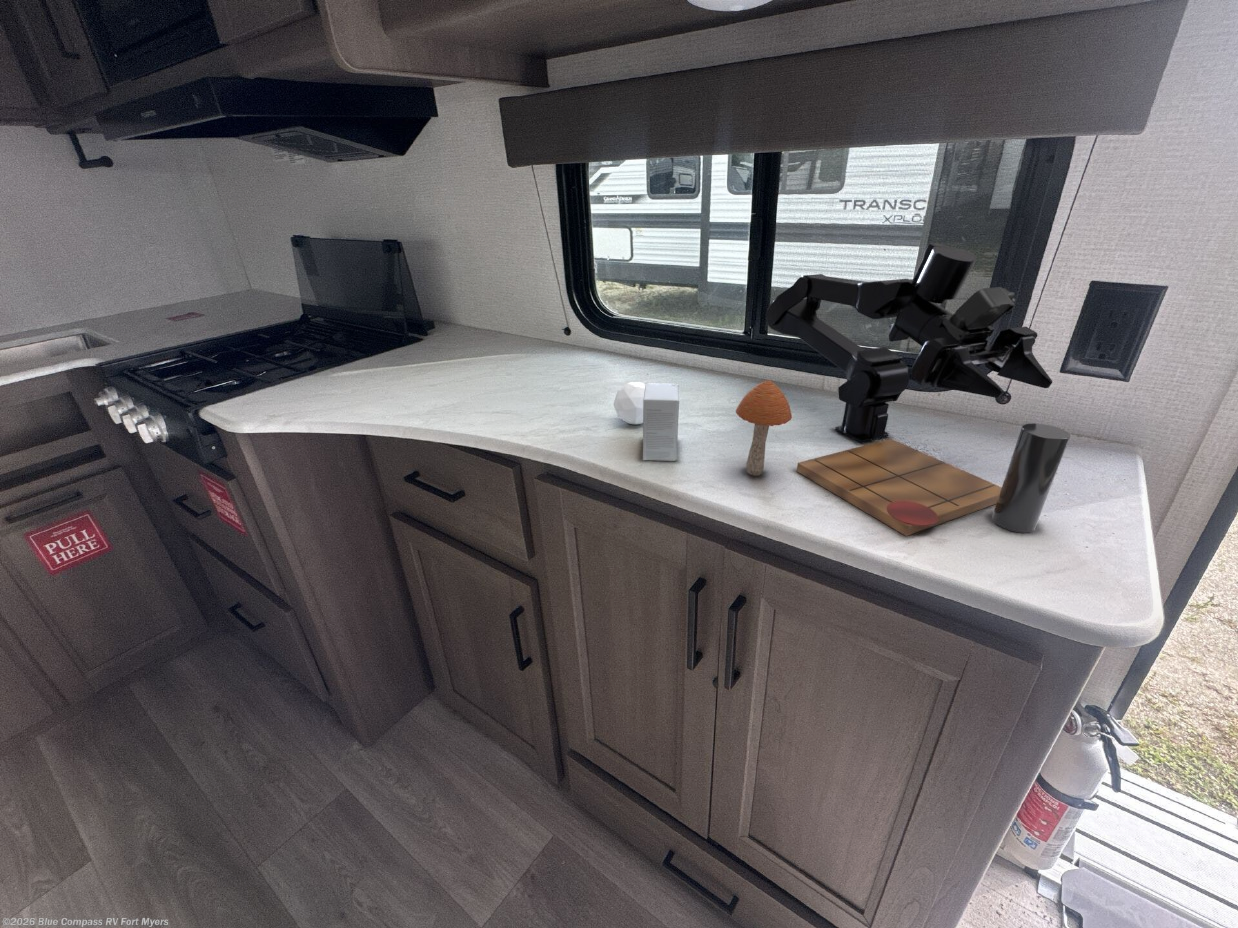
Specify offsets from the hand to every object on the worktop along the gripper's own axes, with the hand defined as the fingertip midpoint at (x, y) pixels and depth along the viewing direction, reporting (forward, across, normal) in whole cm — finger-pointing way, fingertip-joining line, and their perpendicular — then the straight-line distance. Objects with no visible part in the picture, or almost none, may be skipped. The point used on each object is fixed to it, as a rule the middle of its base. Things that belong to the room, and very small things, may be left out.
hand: (1025, 389), depth 72 cm
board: (-3, -9, +18) cm, 20 cm away
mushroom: (-14, -26, +21) cm, 36 cm away
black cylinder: (+10, -3, +14) cm, 17 cm away
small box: (-26, -35, +25) cm, 51 cm away
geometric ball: (-39, -34, +29) cm, 59 cm away
